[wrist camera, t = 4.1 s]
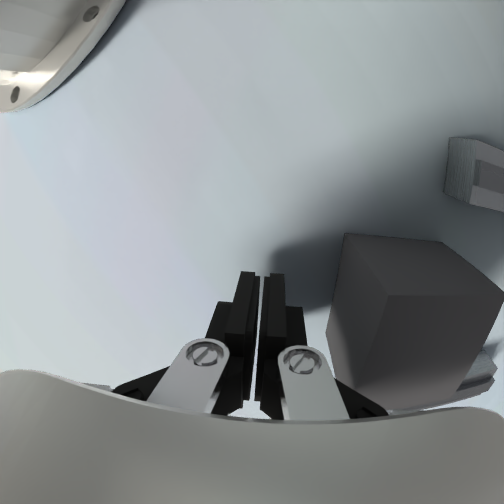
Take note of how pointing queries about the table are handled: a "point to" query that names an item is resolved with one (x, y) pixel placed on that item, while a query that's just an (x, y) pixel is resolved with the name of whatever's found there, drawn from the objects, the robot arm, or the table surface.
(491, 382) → the metal bars
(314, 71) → the table surface
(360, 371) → the dark gray cube
